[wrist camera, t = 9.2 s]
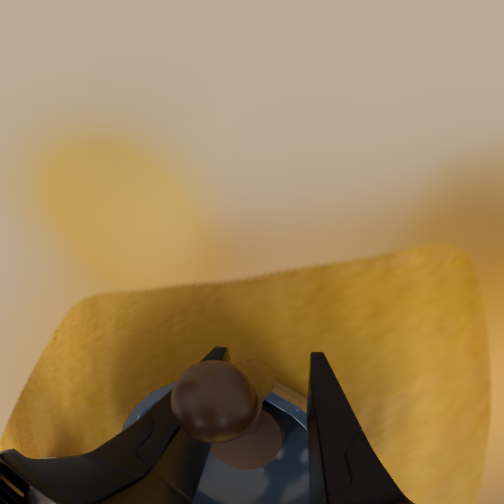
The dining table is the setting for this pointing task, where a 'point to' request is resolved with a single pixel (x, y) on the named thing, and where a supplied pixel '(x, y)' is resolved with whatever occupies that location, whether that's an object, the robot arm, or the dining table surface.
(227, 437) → the ladle
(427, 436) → the dining table surface
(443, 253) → the dining table surface
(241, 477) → the bowl
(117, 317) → the dining table surface
